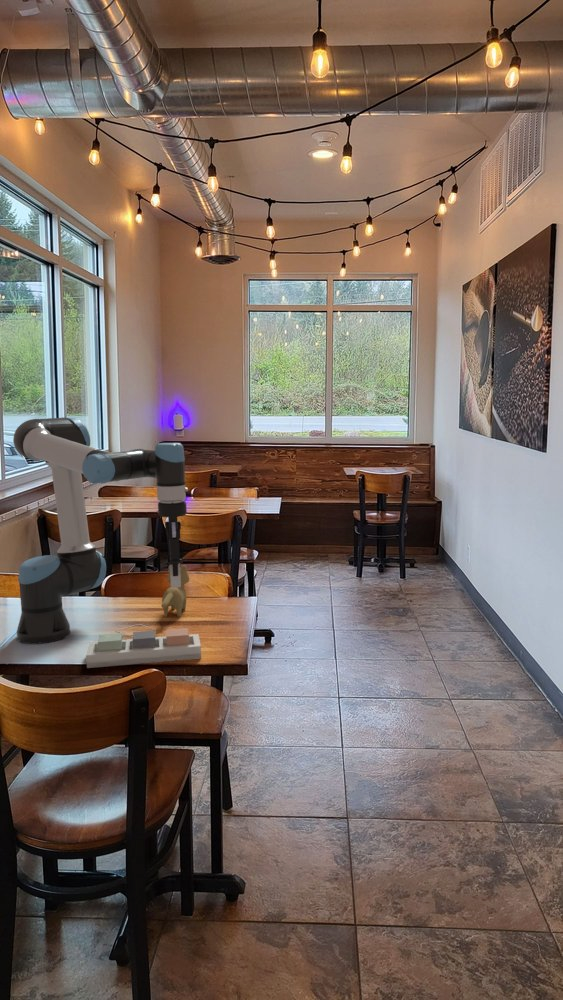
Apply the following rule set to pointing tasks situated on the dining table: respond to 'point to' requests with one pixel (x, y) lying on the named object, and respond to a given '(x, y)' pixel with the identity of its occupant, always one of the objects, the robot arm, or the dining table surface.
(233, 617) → the dining table surface
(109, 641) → the key sage
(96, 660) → the keypad
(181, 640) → the key terracotta
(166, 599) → the toy
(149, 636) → the key charcoal
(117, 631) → the flat thin panel
